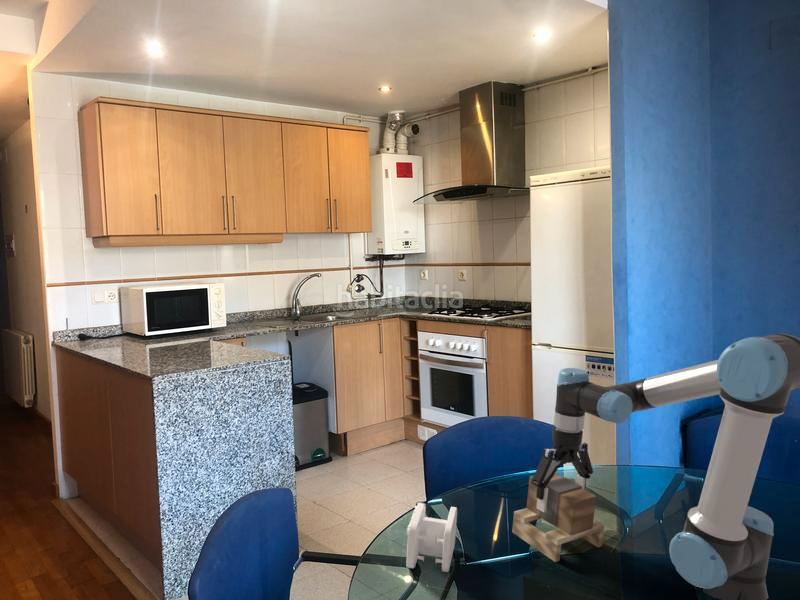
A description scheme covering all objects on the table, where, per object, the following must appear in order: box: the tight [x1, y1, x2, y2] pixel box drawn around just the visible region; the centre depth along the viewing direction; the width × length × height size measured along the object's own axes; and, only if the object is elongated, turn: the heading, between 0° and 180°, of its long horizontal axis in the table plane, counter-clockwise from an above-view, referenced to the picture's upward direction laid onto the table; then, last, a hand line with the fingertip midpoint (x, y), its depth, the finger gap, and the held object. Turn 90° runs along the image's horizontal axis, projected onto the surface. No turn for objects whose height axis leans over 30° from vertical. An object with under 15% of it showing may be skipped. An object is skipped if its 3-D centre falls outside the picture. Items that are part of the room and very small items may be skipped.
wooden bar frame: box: [511, 507, 605, 563], centre depth 171 cm, size 16×17×6 cm
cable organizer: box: [405, 502, 458, 573], centre depth 157 cm, size 15×11×12 cm
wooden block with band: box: [526, 473, 597, 536], centre depth 169 cm, size 16×8×9 cm, turn 32°
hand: (560, 504), depth 170 cm, fingers open, 13 cm apart
